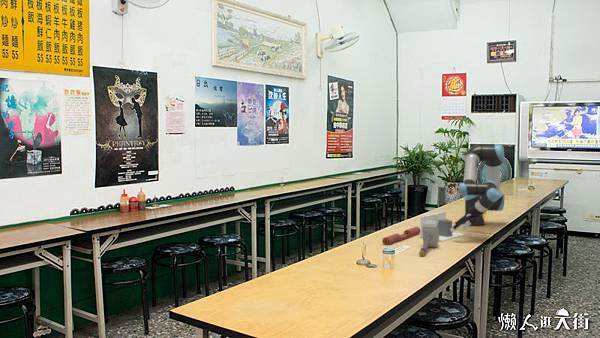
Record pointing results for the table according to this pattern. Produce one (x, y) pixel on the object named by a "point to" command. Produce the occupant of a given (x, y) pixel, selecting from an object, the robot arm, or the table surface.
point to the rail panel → (437, 217)
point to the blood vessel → (401, 236)
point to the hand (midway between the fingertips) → (457, 229)
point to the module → (445, 227)
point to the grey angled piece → (429, 235)
